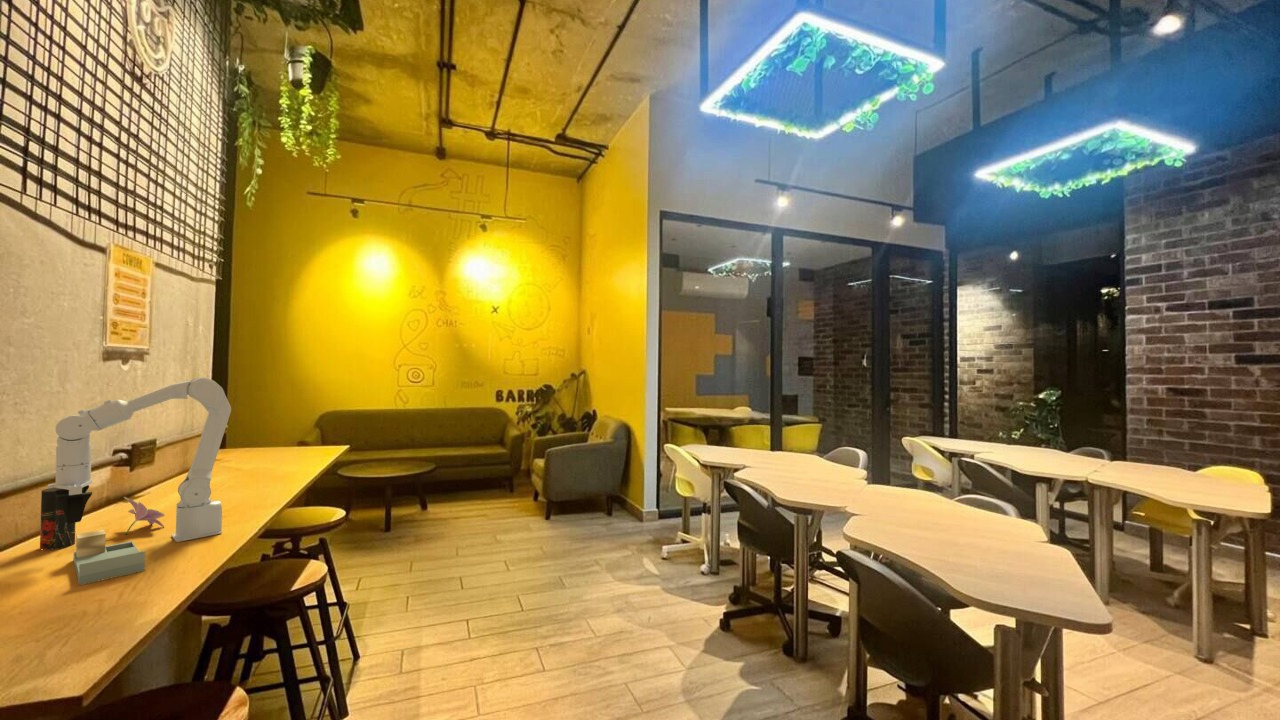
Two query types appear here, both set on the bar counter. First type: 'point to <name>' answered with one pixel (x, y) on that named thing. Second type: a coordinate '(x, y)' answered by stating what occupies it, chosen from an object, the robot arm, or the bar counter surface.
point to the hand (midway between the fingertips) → (72, 519)
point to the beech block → (90, 543)
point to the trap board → (109, 563)
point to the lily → (144, 513)
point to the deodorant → (54, 523)
